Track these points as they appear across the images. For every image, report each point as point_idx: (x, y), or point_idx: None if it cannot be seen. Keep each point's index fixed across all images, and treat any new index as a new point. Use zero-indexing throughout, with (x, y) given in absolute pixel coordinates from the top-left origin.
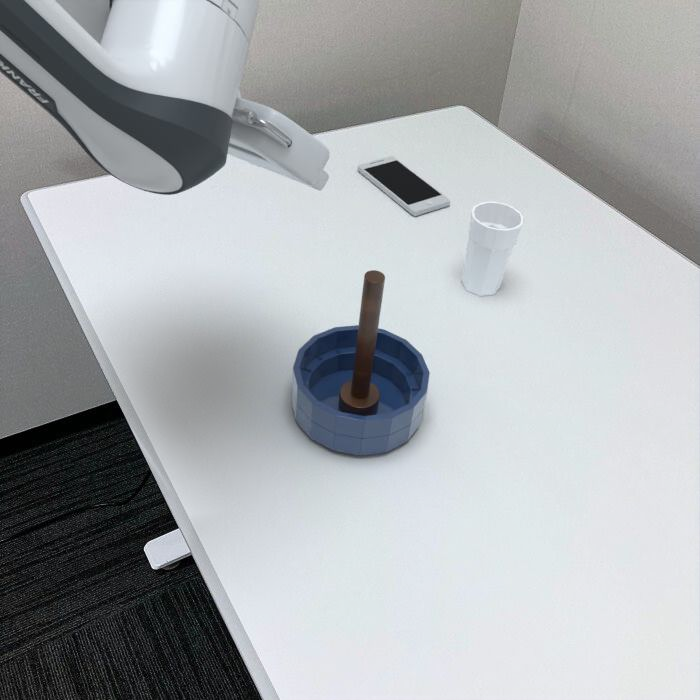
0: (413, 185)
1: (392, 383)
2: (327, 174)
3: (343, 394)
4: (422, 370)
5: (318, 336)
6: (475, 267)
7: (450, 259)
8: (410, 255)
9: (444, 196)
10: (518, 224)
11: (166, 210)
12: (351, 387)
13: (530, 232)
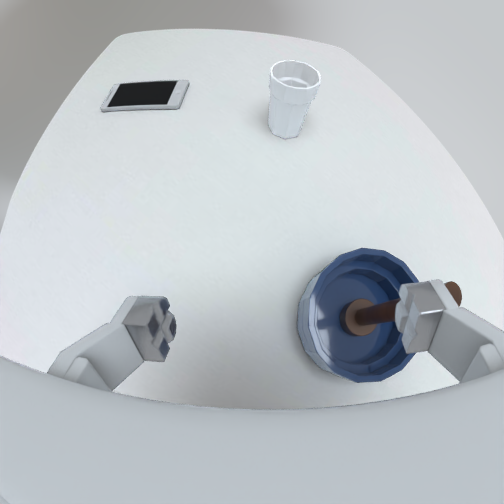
0: (152, 89)
1: (351, 274)
2: (441, 282)
3: (356, 331)
4: (399, 265)
5: (312, 322)
6: (292, 121)
7: (243, 121)
8: (216, 141)
9: (181, 80)
10: (306, 71)
11: (26, 282)
12: (361, 324)
13: (255, 67)
